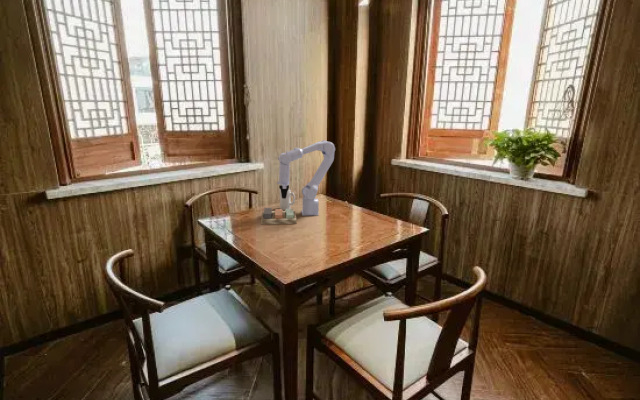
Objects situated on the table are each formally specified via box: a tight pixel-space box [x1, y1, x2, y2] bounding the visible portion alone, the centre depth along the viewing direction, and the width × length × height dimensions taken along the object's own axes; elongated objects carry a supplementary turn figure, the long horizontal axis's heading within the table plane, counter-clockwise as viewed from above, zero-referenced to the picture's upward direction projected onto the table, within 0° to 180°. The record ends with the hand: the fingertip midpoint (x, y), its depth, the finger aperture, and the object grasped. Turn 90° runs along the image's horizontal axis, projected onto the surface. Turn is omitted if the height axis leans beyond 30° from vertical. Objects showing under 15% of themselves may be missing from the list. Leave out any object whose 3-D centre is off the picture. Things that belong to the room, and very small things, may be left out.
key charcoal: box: [263, 207, 273, 219], centre depth 193 cm, size 4×11×4 cm, turn 7°
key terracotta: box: [274, 208, 283, 219], centre depth 194 cm, size 4×11×4 cm, turn 7°
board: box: [260, 210, 297, 225], centre depth 194 cm, size 19×15×2 cm
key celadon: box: [285, 208, 294, 219], centre depth 194 cm, size 4×11×4 cm, turn 7°
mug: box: [279, 188, 296, 211], centre depth 212 cm, size 10×7×12 cm, turn 69°
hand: (283, 198), depth 198 cm, fingers closed
